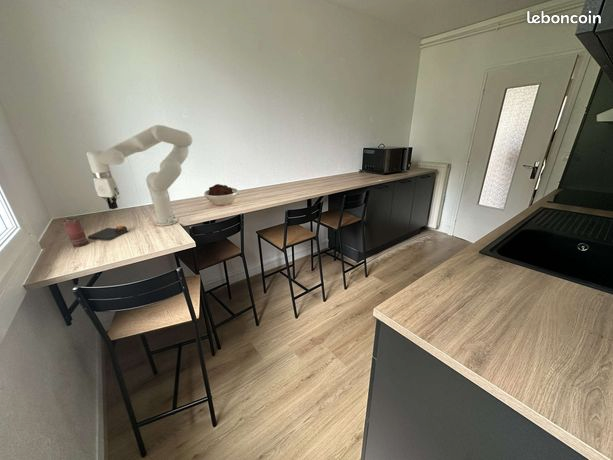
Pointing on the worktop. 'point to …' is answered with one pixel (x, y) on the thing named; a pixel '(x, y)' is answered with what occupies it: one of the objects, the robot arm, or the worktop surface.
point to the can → (75, 232)
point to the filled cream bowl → (221, 194)
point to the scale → (108, 233)
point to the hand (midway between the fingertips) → (113, 208)
